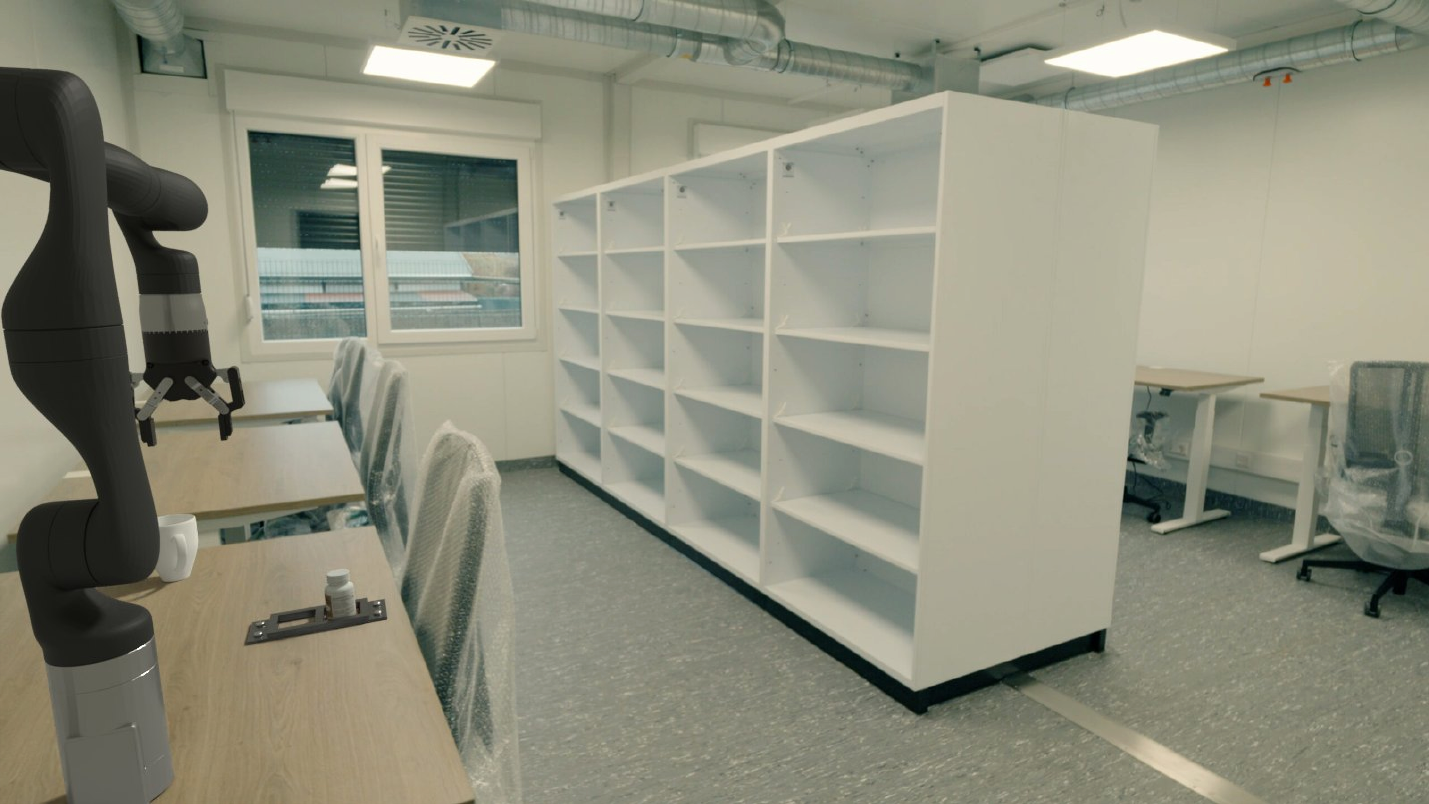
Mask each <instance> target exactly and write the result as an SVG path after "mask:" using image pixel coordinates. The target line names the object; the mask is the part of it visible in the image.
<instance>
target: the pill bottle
mask: <svg viewBox="0 0 1429 804" xmlns="http://www.w3.org/2000/svg"><path fill="white" fill-rule="evenodd" d="M350 579H351V575H350V570H349V569H347V568H338V569H337V568H336V569H333V570H330V571H328V572H327V573H326V584H327V585H326V586H325V587H324V601H325V605H326V611H327V614H326V620H327V619H328V620H329V619H335V618H340V617H346V616H352V615H356V604H355V600H356V597H355V586H354V583H353V582H352V581H350Z"/></svg>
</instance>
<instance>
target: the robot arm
mask: <svg viewBox="0 0 1429 804" xmlns="http://www.w3.org/2000/svg"><path fill="white" fill-rule="evenodd" d="M101 117H102V116H101V114H100V110H99V106H98V104H97V101H96V99H95V96H94V94H93V93H92V90H91V88H90V86H88V84H87V83H86V82H85V81H84V80H83V79H82V78H81V77H80V76H78V75H76V74H75V73H73V72H70V71H66V70H59V69H52V68H51V69H48V68H32V67H31V68H29V67H14V66H12V67H11V66H0V170H1V171H5V172H9V173H15V174H19V175H21V176H26V177H29V178H33V179H36V180H39V181H42V182H45V183H48V184H49V201H48V213H47V218H46V221H45V224H44V228H43V229H42V232H41V234H40V237H39V239H38V240H37V242H36V244H35V245H34V248H33V249H32V251H31V253H30V254H29V256H28V257H27V259H26V260H25V262H24V264H23V265H22V266H21V268H20V270H19V271H18V272H17V275H16V276H15V278H14V280H13V281H12V284H11V285H10V286H9V288H8V290H7V293H6V295H5V297H4V300H3V303H2V306H1V316H0V318H1V319H0V320H1V326H2V329H3V332H2V333H3V338H4V342H5V343H4V344H5V348H6V350H5V351H6V355H7V360H8V361H7V362H8V366H9V371H10V375H11V377H12V379H13V382H14V383H15V385H16V387H17V388H18V389H19V391H20V392H21V393H22V395H23V396H24V397H25V398H26V399H27V401H28V402H29V403H30V404H32V406H33V407H34V408H35V409H36V410H37V411H38V412H39V413H40V414H41V415H42V416H43V417H44V418H45V419H46V420H47V421H49V423H50V424H51V425H52V426H53V427H55V428H56V430H58V431H59V432H60V433H61V434H62V435H63V436H64V437H65V438H66V440H68V442H69V443H70V444H71V445H72V446H73V448H75V450H76V451H77V452H78V454H79V455H80V457H81V458H82V460H83V461H84V463H85V465H86V467H87V469H88V471H89V474H90V476H91V479H92V483H93V485H94V489H95V492H96V496H97V498H83V499H71V500H69V499H68V500H56V501H48V502H43V503H40V504H38V505H36V506H33V507H32V508H31V509H30V510H28V511H27V512H26V514H25V515H24V516H23V518H22V519H21V521H20V522H19V523H20V524H19V527H18V530H17V533H16V540H15V555H16V564H17V570H18V574H19V578H20V582H21V587H22V591H23V594H24V597H25V602H26V606H27V611H28V615H29V619H30V624H31V628H32V633H33V636H34V639H35V640H36V642H37V643H38V645H39V646H40V648H41V650H42V655H43V660H44V664H45V671H46V678H47V683H48V690H49V696H50V697H49V698H50V703H51V710H52V715H53V721H54V727H55V729H54V730H55V735H56V740H57V746H58V747H57V748H58V751H59V759H60V765H61V772H62V777H63V783H64V789H65V794H66V795H65V796H66V802H67V804H150V803H151V802H152V801H153V800H154V799H156V798H157V797H159V796H160V795H161V794H162V793H164V791H165V790H167V788H168V787H169V786H170V785H171V783H172V782H173V779H174V776H175V775H174V768H173V767H174V766H173V759H172V753H171V745H170V738H169V737H170V736H169V730H168V724H167V716H166V709H165V708H166V707H165V703H164V694H163V688H162V687H163V686H162V680H161V673H160V665H159V664H160V663H159V659H158V658H159V656H158V648H157V642H156V635H155V627H154V621H153V616H152V614H151V612H150V610H149V609H148V608H146V607H145V606H142V605H140V604H138V603H133V602H128V601H125V600H120V599H116V598H114V597H111V596H108V595H107V594H104V593H103V592H101V591H99V590H98V589H97V588H104V587H114V586H123V585H129V584H135V583H139V582H142V581H144V580H146V579H147V578H149V577H150V576H151V575H152V574H153V572H155V567H156V565H157V562H158V559H159V553H160V531H159V524H158V518H157V517H158V514H157V510H156V509H157V508H156V504H155V500H154V497H153V492H152V489H151V484H150V480H149V476H148V472H147V468H146V467H147V466H146V463H145V460H144V455H143V452H142V451H143V450H142V449H141V448H142V447H141V442H142V443H143V444H147V447H148V448H150V447H156V445H157V442H158V440H157V432H156V427H155V426H156V425H155V418H154V417H152V415H153V413H154V412H155V411H156V409H157V408H158V407H160V405H161V404H162V402H163V401H164V400H165V401H167V402H170V403H172V402H179V401H182V400H184V401H197V400H199V399H201V398H202V399H203V400H204V401H205V402H207V403H208V404H209V405H210V406H212V407H213V408H214V409H215V410H216V411H218V413H219V414H218V415H217V420H218V428H219V429H218V430H219V438H220V441H222V442H223V441H228V440H229V437H232V435H233V432H234V428H233V419H232V413H233V412H235V411H237V410H240V409H242V408H243V407H244V406H245V404H246V399H245V394H244V388H243V383H242V377H241V371H240V368H239V367H238V366H237V365H231V366H230V367H223V368H216V367H215V366H214V364H213V362H212V361H213V359H212V352H211V345H210V335H209V328H208V327H209V326H208V325H209V320H208V317H207V310H206V306H205V303H204V302H205V301H204V299H203V294H202V288H201V287H202V285H201V277H200V269H199V264H198V259H197V257H196V255H195V254H194V253H192V252H189V251H187V250H183V249H179V248H178V249H177V248H172V247H167V246H164V245H162V244H161V243H159V241H158V239H156V237H155V235H154V232H190V231H191V232H192V231H194V230H197V229H199V228H200V227H201V226H202V225H203V224H204V223H205V222H206V220H207V219H208V215H209V204H208V200H207V198H206V196H205V193H204V192H203V191H202V189H201V188H200V187H199V185H198V184H197V183H195V182H194V181H193V180H192V179H190V178H189V177H187V176H185V175H182V174H181V173H180V174H179V173H177V172H175V171H174V172H173V171H170V170H168V169H164V168H161V167H156V166H152V165H150V164H148V163H147V162H146V161H144V160H142V159H141V158H139V156H137V155H136V154H134V153H133V152H131V151H129V150H127V149H125V148H123V147H120V146H118V145H116V144H113V143H111V142H107V141H105V135H104V130H103V122H102V119H101ZM109 209H110V210H111V211H112V214H113V216H114V218H115V221H116V222H117V225H118V226H119V229H120V231H121V233H122V235H123V237H124V239H125V242H126V245H127V247H128V249H129V252H130V254H131V258H132V260H133V263H134V266H135V267H134V268H135V274H136V280H137V289H138V294H139V296H138V297H139V298H138V299H139V301H138V304H139V305H138V315H139V321H140V330H141V338H142V345H143V352H144V353H143V354H144V361H145V370H144V372H132V371H130V363H129V362H130V361H129V354H128V352H129V351H128V347H127V340H126V339H127V337H126V332H125V324H124V318H123V315H122V314H123V313H122V307H121V302H120V297H119V292H118V286H117V281H116V274H115V268H114V267H115V266H114V261H113V254H112V253H113V252H112V246H111V245H112V244H111V238H110V237H111V236H110V226H109V224H110V223H109ZM217 377H220V378H221V379H222V381H223V382H224V383H226V384H229V389H230V390H229V391H230V395H231V400H232V401H230V402H227V401H226V400H225V399H224V398H223V397H222V396H221V395H220V394H219V392H217V390H215V389H214V387H212V385H213V383H214V382H215V380H216V379H217ZM141 381H143V382H144V383H145V384H146V385H148V386H149V387H150V388H151V389H152V390H153V392H152V393H151V394H150V396H149V398H148V399H147V401H146V402H145V404H144V405H143V406H142V407H141V408H140V407H136V400H135V399H136V398H135V389H136V388H138V387H140V384H141V383H140V382H141ZM136 420H137V421H136ZM137 422H138V427H139V428H138V429H139V433H138V429H137ZM139 435H140V438H139ZM140 441H141V442H140Z"/></svg>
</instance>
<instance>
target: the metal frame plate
mask: <svg viewBox="0 0 1429 804" xmlns="http://www.w3.org/2000/svg"><path fill="white" fill-rule="evenodd" d="M355 604H356V615H352V616H346V617H340V618H335V619H329V620H328V619H327V618H326V620H325V615H327V611H326V604H321V605H317V606H310V607H305V608H298V609H292V610H287V611H282V612H276V613H271V614H270V615H269V618H268V619H262V620H255V621H252V622H251V626H250V628H249V632H248V637H247V641H246V645H247V646H248V645H252V644H253V645H254V644H259V643H264V642H269V641H275V640H279V639H286V638H291V637H296V636H301V635H308V634H312V633H318V632H323V631H327V630H328V631H329V630H334V629H339V628H346V627H351V626H356V625H361V624H368V623H373V622H378V621H382V620H383V621H384V620H388V613H387V607H386V599H385V598H382V599H376V600H370V601H369V600H368V597H363V598H355ZM358 610H360V613H359V611H358ZM312 617H315V618H314V622H308V623H303V624H295V625H290V626H286V627H281V628H279V626H280V623H282V622H283V623H284V622H288V621H289V622H290V621H295V620H302V619H305V618H312Z"/></svg>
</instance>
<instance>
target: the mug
mask: <svg viewBox="0 0 1429 804" xmlns="http://www.w3.org/2000/svg"><path fill="white" fill-rule="evenodd" d="M157 518H158V524H159V531H160V553H159V559H158V562H157V565H156V567H155V569H154V571H156V573H157V574H158V576H159V577H160V579H161V580H162V581H163V582H164V583H173V582H180V581H182V580H185V579H187V578H189V577H190V576H191V575H192V574H191V573H192V569H193V568H194V567H193V566H194V563H195V560H196V556H197V553H198V550H199V549H198V548H199V534H198V527H197V526H198V524H197V519H196V516H195V515H194V514H191V513H173V514H166V515H162V516H157Z"/></svg>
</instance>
